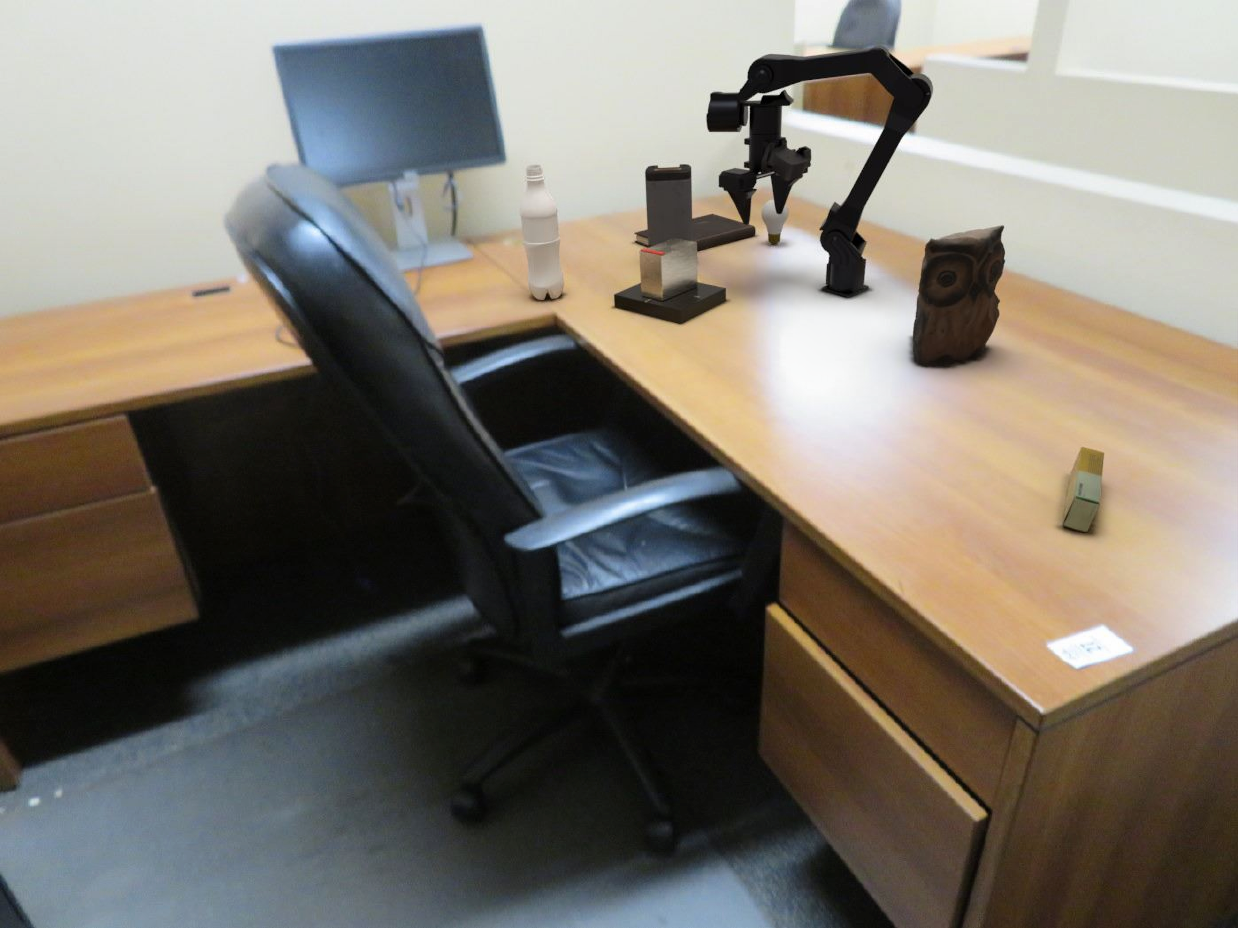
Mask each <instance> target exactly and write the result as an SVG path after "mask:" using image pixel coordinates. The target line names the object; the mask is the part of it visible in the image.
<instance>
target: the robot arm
mask: <svg viewBox="0 0 1238 928" xmlns="http://www.w3.org/2000/svg"><path fill="white" fill-rule="evenodd" d="M866 74H870V75H871V76H873V77H874V79H876V81H877V82H878V83H879V84H880V85H881V86H882V87H883V88H884V89H885V91H886V92H887V93H888V94H890V95H891V96H892V97H893V99H892V102H891V104H890V108H889V111H888V114H887V117H886V121H885V123H884V127H883V129H882V131H881V133H880V135H879V136H878V139H877V141H876V142H875V144H874V146H873V148H872V150H871V151H870V154H869V155H868V157H867V159H866V161H865V163H864V165H863V167H862V169H861V170H860V172H859V175H858V176H857V178H856V180H855V182H854V184H853V185H852V188H851V189H850V192H849V193H848V195H847V196H846V198H845V199H844V200H843V201H842V203H841V204H839V203H837V201H833V203H832V205H831V207H830V208H829V210H828V213H827V216H826V218H825V219H824V220H823V222H822V223H821V225H820V227H819V228H818V230H819V231H820V236H819V242H820V246H821V247H822V249H823V250H824V251H825V252H826V253H828V262H827V263H826V267H825V268H826V269H825V270H826V272H825V285H824V286H822V287H821V291H824V292H827V293H831V294H835V295H838V296H841V297H846V298H851V297H853V296H854V295H857V294H860V293H862V292H865V291H866V290H869V285H866V284H865V278H866V277H865V275H866V266H867V258H864V257H863V254H864V251H865V248H866V246H867V243H868V241H867V240H866V239H865V238H864V237H863V236H862V235H861V233H859V232H858V231H857V230H858V227H859V225H860V221H861V218H862V216H863V213H864V209H865V207H866V205H867V203H868V201H869V199H870V197H871V196H872V194H873V192H874V190H875V189H876V186H877V185H878V183H879V181H880V179H881V178H882V176H883V174H884V172H885V170H886V169H887V166H888V165H889V163H890V161H891V159H892V157H893V156H894V154H895V152H896V150H897V148H898V147H899V144H900V143H901V141H902V140H903V138H904V137H905V135H906V134H907V133H908V131H909V130H910V129H911V128H912V127H913V126H914V124H915V123H916V122H917V121H918V119H919V118H920V116H922V114H923V113H924V111H925V110H927V108H928V106H929V104H930V102H931V99H932V97H933V94H934V85H933V82H932V80H931V79H930V77H929V76H927V75H926V74H923V73H920V72H918V73H917V72H916V73H915V72H914V71H912V69H910V68H909V67H908V66H907V65H906V64H905V63H903V62H902V61H900V60H899V59H898V58H897V57H896V56H894V55H893V54H892V53H891V52H890V51H889V49H888V48H887V47H886V46H884V45H881V44H880V45H879V44H877V45H874V46H871V47H867V48H860V49H852V50H845V51H837V52H829V53H823V54H814V55H808V56H803V55H793V54H782V53H781V54H780V53H767V54H764V55H762V56H761V57H758V58H757V59H755V60H754V61H753V62H752V63H751V65H749V68H748V69H747V76H746V78H747V79H746V81H745V82H744V84H743V86H742V87H741V88H740V89H739V91H737V92H722V91H712V92H710V93H709V102H708V107H707V113H706V115H705V116H706V117H705V121H706V128H707V131H708V132H709V133H741V131H742V129H743V127H747V125H748V121H749V125H748V129H749V130H748V137H746V138H744V139H743V145H745V146H748V160H746V161H743V168H739V167H733V168H729V169H726V170H725V169H724V170H723V171H721V172H720V173H719V175H718V188H722V189H723V191H724V192H727V194H728V195H729V197H730V198H731V200H732V202H733V204H734V206H735V208H736V211H737V213H738V214H739V217H740V219H741V222H743V223H744V224H746V225H748V224H749V225H750V221H751V212H752V197H753V196H754V194H756V192H757V190H758V189H757V188H755V186H756V184H757V182H758V181H757V180H760V179H764V178H768V177H770V182H771V190H772V196H773V199H774V204H775V209H776V213H777V214H782V212H783V209H784V206H785V204H786V205H787V201H788V198H789V196H790V192H791V190H792V188H793V186H794V185H795V184H796V183H797V182H798V181H799V180H801V179H803V177H804V174H807V173H808V172H809V168H810V167H811V166H812V163H811V162H812V149H811V148H810V147H808V146H806V145H804V146H801V147H798V148H792V149H791V148H789V147H788V139H787V137H785V136H782V122H783V107H790V106H791V105H792V104H794V102H795V99H794V98H793V97H792V96H790V95H789V93H788V92H787V90H786V89H784V88H787V87H790V86H793V85H797V84H798V83H803V82H808V81H816V80H824V79H832V78H842V77H849V76H858V75H866ZM781 89H783V90H782V91H780V93H779V94H769V93H772V92H775V91H779V90H781ZM758 94H761V95H762V96H761V98H760V99H759V100H750V99H752V98H753V97H755V96H756V95H758Z"/></svg>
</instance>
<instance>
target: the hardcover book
mask: <svg viewBox="0 0 1238 928" xmlns="http://www.w3.org/2000/svg"><path fill="white" fill-rule="evenodd" d="M756 230H757V229H756V226H755V225H753V224H750V223H749V224H748V225H746V224H744V223H743V221H738V220H735V219H732V218H729V217H725V216H722V215H718V214H715V213H709V214H705V215H701V216H697V217H692V237H693V242H697V252H698V251H701V250H706V249H708V248H713V247H717V246H721V245H724V244H728V243H733V242H735V241H739V240H743V239H746V238H751V237H754V236H755V235H756V233H757V231H756ZM634 235H635V236H636V237H635V239H636V240H634V243H636V244H639V245H641V246H644V247H647V248H648V229H647V228H646V229H643V230H639V231H635V232H634Z"/></svg>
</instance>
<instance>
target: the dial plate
mask: <svg viewBox="0 0 1238 928" xmlns="http://www.w3.org/2000/svg"><path fill="white" fill-rule="evenodd" d="M726 301H727V288H726V287H723V286H717V285H713V284H709V283H703V282H698V286H697V287H695V288H692V289H690V290H688V291H685V292H683V293H681V294H678V295H676V296H674V297H671V298H669V299H667V300H664V301H660V300H656V299H653V298H649V297H645V296H642V295H641V282H638V283H637V284H634V285H633V286H630V287H628V288H626V289H623V290H621V291H618V292H616V293H614V294H613V302H614V308H617V309H621V310H626V311H629V312H633V313H637V314H642V315H645V316H649V317H653V318H658V319H661V320H665V321H669V322H672V323H676V324H680V325H681V324H682V323H683V324H684V323H685V322H687V321H689V320H690V319H693V318H695V317H697V316H698V315H700V314H702V313H705V312H707V311H708V310H711V309H712V308H715V307H716V306H718V305H720V304H722V303H724V302H726Z"/></svg>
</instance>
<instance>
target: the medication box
mask: <svg viewBox="0 0 1238 928" xmlns="http://www.w3.org/2000/svg"><path fill="white" fill-rule="evenodd" d="M1104 458H1105V452H1104V451H1100V450H1097V449H1093V448H1090V447H1085V446H1081V447H1080V449H1079V451H1078V454H1077V456H1076V459H1075V460H1074V463H1073V465H1072V468H1071V470H1070V474H1069V479H1068V486H1067V491H1066V492H1067V493H1066V498H1065V503H1064V509H1063V517H1062V525H1061V526H1062V527H1065V528H1068V529H1070V530H1073V531H1076V532H1080V533H1085V534H1087V533H1088V531H1089V528H1090V526H1091V525H1092V522H1093V520H1094V518H1095V516H1096V514H1097V512H1098V510H1099V508H1100V503H1101V494H1102V493H1101V492H1102V484H1103V482H1102V481H1103V472H1104V463H1105V462H1104V460H1105V459H1104Z"/></svg>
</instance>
